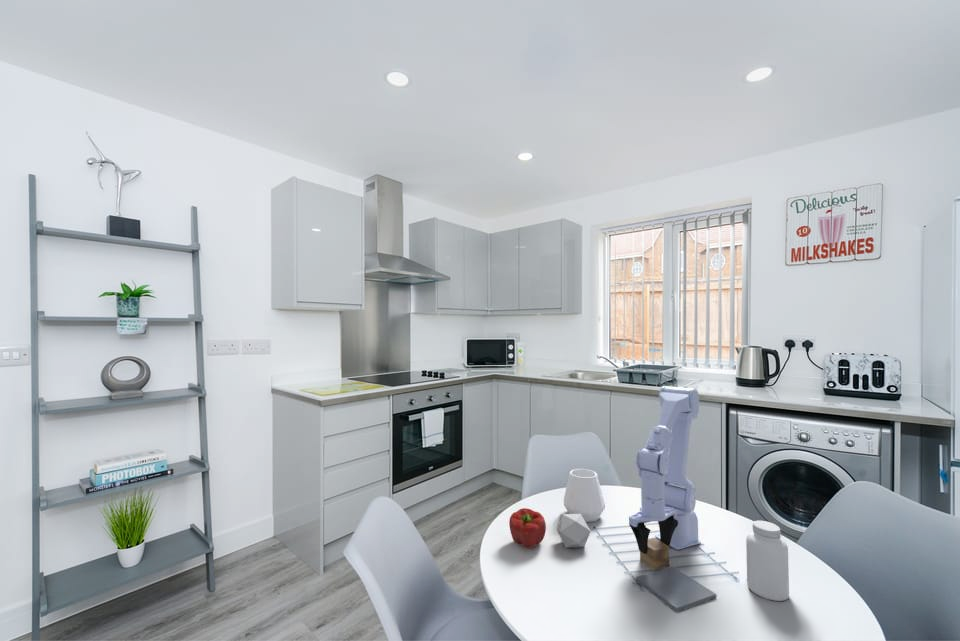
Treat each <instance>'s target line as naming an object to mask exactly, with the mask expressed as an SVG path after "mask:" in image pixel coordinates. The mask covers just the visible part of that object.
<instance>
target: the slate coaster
mask: <svg viewBox="0 0 960 641" xmlns="http://www.w3.org/2000/svg"><path fill="white" fill-rule="evenodd" d="M635 581H636V582H637V583H638V584H640V586H642V587H644V588H645V589H646V590H648V591H649V592H650V593H651V594H653V595H654V596H655V597H656V598H658V599H659V600H660V601H662V602H663V603H665V604H666V605H667V606H668V607H670V608H671V609H672V610H674V611H675V612H676V613H679V612H681V611H683V610H686V609H688V608H692V607H694V606H697V605H700V604H703V603H705V602H709V601H710V600H713V599H716V598H717V593H716V592H714V591H712V590H710V588H707V587H706V586H705V585H703V584H702V583H700V582H699V581H697V580H695V579H694V578H692V577H690V576H689V575H687V574H686V573H685V572H683V571H682V570H680V569H678V568H677V567H675V566H673V565H672V566H668V567H664V568H661V569H658V570H654V571H652V572H648V573H646V574H641V575H639V576H636V577H635Z"/></svg>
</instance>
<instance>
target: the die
mask: <svg viewBox="0 0 960 641" xmlns="http://www.w3.org/2000/svg"><path fill="white" fill-rule="evenodd" d="M556 531H557V534H558V535H559V538H560V540H561V541H562V543H563V545H564V547H565V548H566V549H569V548H570V549H571V548H573V549H574V548H576V549H577V548H585V546H586V544H587V541H588V539H589V536H590V534H591V530H590V528H589V526H588V524H587V522H585V520H584V519H583V517H582V515H581V514H569V513H562V515H561V518H560V520H559V523H558V525H557V528H556Z"/></svg>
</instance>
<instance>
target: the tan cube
mask: <svg viewBox="0 0 960 641" xmlns="http://www.w3.org/2000/svg"><path fill="white" fill-rule="evenodd" d="M639 561H641V562H642V563H644V564H645V565H646V566H648V567H649V568H651V569H652V570H653V571H658V570H661V569H665V568H668V567H671V566H670V564H671V563H670V562H671V561H670V546H668V545H666V544H664V543H663V542H661V540H659V539H658V538H656V537H652V538H648V550H647V554H644V553H642V552H641V551H639Z"/></svg>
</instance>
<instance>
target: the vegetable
mask: <svg viewBox="0 0 960 641" xmlns="http://www.w3.org/2000/svg"><path fill="white" fill-rule="evenodd" d="M508 522H509V524H508V525H509V530H510V535H511V538H512V540H513V542H514V543H515V544H517V545H518V546H519V545H520V546H523V547H524V548H525V549H532V548H535V546H537V545H538V546H539V545H540V544H541V543H542V542H543V540H544V539H545V534H546V531H547V530H546V529H547V523H546V520H545V518H544V516H543V515H542V514H541V513H540V512H538V511H535V510H533V509H530V508H525V507H522V508H520V509H518V510H516V511H515V512H513V513H512V514H511V515H510V517H509V520H508Z"/></svg>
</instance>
